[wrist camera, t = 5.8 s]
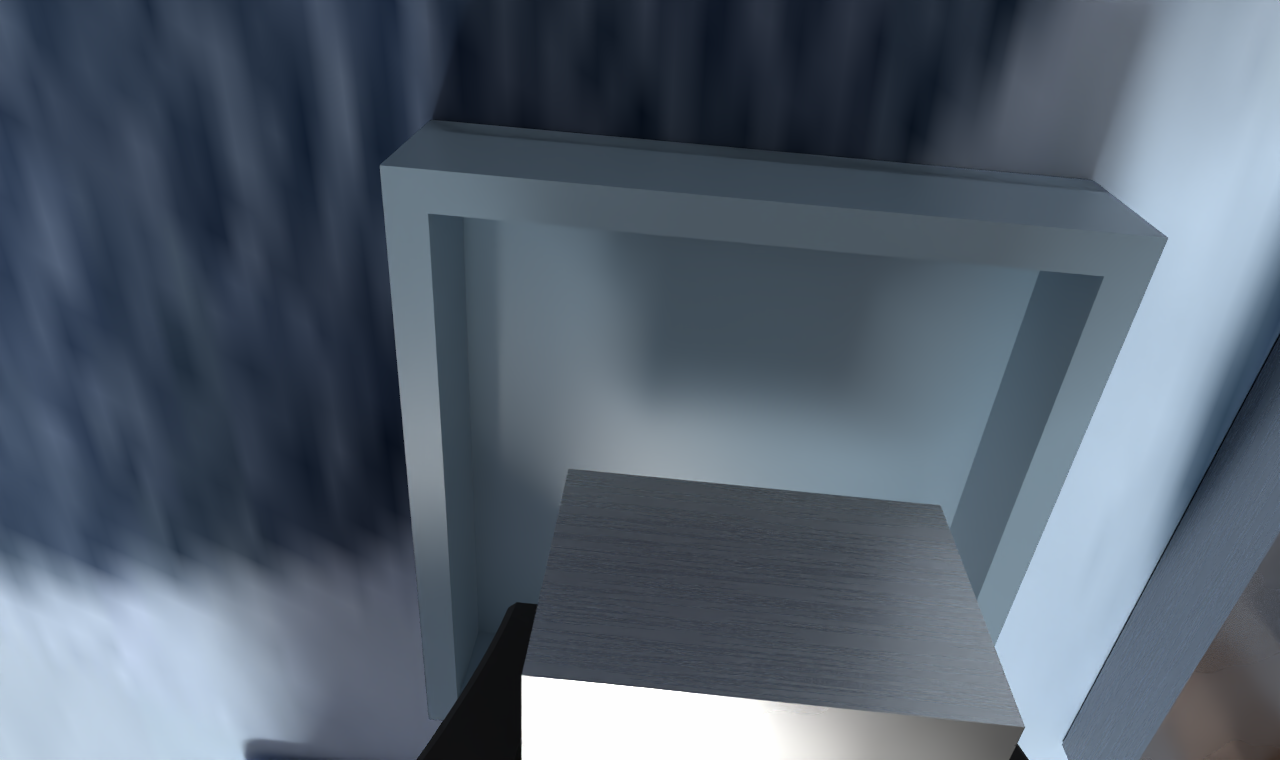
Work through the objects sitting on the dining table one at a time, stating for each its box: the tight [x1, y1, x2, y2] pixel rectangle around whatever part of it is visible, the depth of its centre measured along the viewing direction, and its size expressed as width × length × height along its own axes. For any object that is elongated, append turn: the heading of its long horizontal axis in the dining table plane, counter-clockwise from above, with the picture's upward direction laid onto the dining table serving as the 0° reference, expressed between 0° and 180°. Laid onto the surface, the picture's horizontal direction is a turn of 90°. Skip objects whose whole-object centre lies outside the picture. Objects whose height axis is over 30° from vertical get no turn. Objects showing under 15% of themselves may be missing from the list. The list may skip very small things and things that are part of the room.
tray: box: [380, 120, 1168, 721], centre depth 15 cm, size 11×10×2 cm
